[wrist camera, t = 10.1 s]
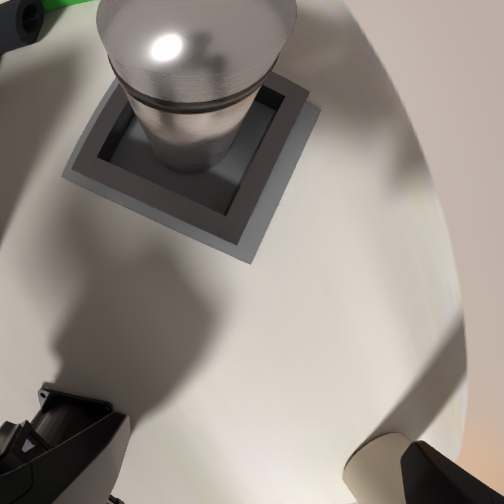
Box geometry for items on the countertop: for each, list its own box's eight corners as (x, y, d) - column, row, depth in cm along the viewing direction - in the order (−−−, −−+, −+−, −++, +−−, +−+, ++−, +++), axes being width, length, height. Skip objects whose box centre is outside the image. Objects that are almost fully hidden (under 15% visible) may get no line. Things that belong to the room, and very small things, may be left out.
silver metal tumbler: (143, 170, 18) (65, 75, 5) (158, 95, 18) (132, -54, 5) (226, 180, 19) (292, 95, 6) (237, 104, 19) (302, -37, 6)
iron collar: (231, 243, 19) (236, 245, 17) (84, 176, 17) (71, 169, 15) (296, 105, 19) (309, 91, 17) (162, 46, 17) (160, 27, 15)
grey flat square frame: (249, 263, 20) (250, 264, 20) (64, 178, 17) (61, 176, 17) (317, 112, 20) (321, 109, 20) (148, 37, 17) (148, 33, 17)
